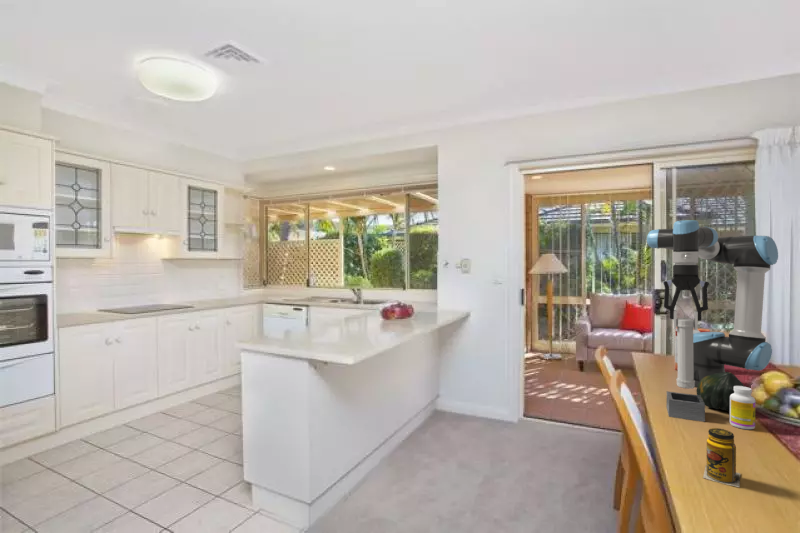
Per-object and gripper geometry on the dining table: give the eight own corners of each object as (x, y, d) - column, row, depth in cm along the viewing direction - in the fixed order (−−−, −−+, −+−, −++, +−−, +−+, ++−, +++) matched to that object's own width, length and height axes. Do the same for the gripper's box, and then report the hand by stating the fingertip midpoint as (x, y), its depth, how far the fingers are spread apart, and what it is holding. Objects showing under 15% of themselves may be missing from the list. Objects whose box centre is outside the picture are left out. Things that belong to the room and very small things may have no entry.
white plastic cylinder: (698, 389, 147) (697, 303, 147) (678, 388, 149) (677, 303, 148) (690, 384, 153) (689, 302, 152) (671, 384, 154) (670, 302, 154)
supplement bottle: (757, 431, 136) (757, 392, 135) (731, 427, 139) (731, 389, 139) (753, 424, 141) (753, 386, 141) (728, 420, 145) (728, 383, 144)
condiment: (702, 478, 108) (703, 432, 108) (705, 465, 115) (706, 422, 114) (739, 488, 103) (739, 440, 103) (740, 474, 110) (740, 429, 110)
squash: (690, 384, 168) (700, 362, 158) (735, 389, 163) (748, 367, 153) (697, 417, 158) (708, 396, 148) (746, 423, 153) (761, 402, 143)
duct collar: (700, 411, 153) (700, 395, 153) (704, 421, 144) (704, 404, 144) (666, 407, 158) (666, 391, 158) (668, 416, 149) (668, 399, 149)
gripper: (655, 264, 151) (655, 328, 151) (719, 264, 142) (719, 332, 142) (654, 263, 157) (654, 325, 158) (715, 263, 148) (715, 329, 149)
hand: (685, 329), depth 150 cm, fingers closed on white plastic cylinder, 5 cm apart
